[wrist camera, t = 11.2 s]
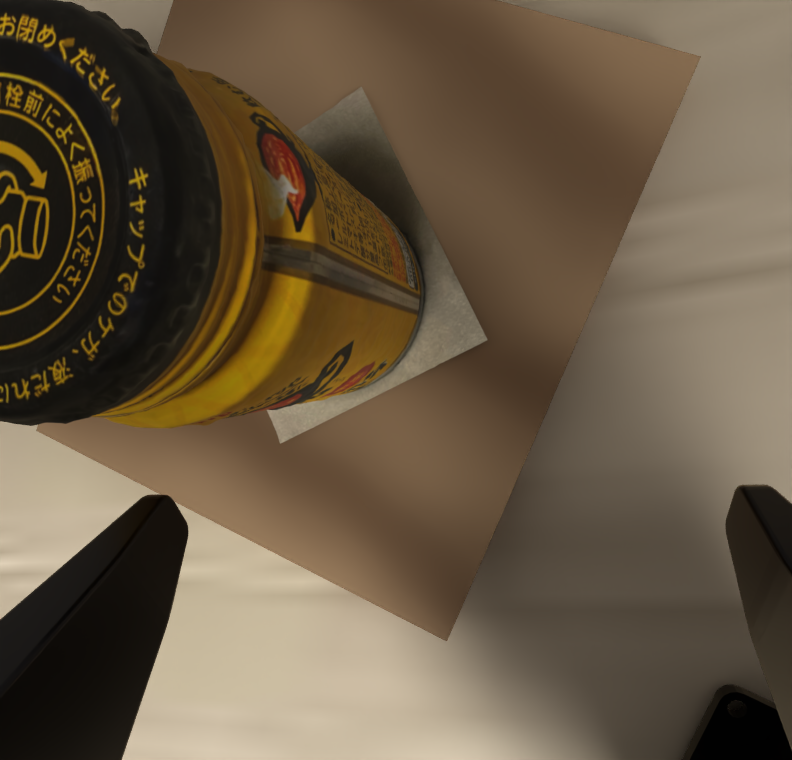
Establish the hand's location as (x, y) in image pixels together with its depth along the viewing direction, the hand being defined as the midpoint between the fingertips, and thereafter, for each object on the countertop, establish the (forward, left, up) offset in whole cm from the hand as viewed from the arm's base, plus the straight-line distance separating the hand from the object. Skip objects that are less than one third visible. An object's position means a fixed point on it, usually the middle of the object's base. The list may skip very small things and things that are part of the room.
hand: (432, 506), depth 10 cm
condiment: (+3, +7, -9) cm, 11 cm away
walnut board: (+3, +7, -10) cm, 12 cm away
